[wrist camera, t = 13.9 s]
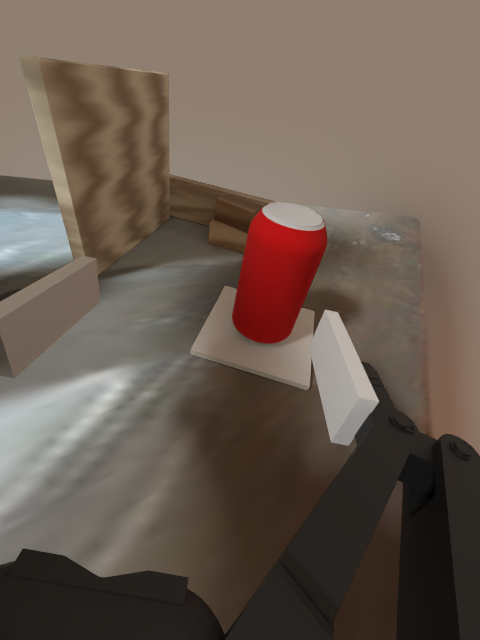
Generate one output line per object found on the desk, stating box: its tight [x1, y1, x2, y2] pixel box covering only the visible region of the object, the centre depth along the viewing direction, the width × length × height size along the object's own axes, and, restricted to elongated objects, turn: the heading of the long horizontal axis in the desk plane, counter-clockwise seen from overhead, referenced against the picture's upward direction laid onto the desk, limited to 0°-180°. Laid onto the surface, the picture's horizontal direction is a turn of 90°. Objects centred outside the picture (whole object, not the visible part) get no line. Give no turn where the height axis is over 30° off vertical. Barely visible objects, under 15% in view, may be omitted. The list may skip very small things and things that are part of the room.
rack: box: [19, 55, 275, 275], centre depth 32 cm, size 23×18×18 cm
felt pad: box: [190, 286, 315, 390], centre depth 28 cm, size 11×11×1 cm
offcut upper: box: [214, 193, 264, 234], centre depth 40 cm, size 4×6×3 cm, turn 58°
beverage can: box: [232, 202, 327, 344], centre depth 24 cm, size 6×6×12 cm
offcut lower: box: [208, 219, 248, 253], centre depth 42 cm, size 5×7×4 cm
